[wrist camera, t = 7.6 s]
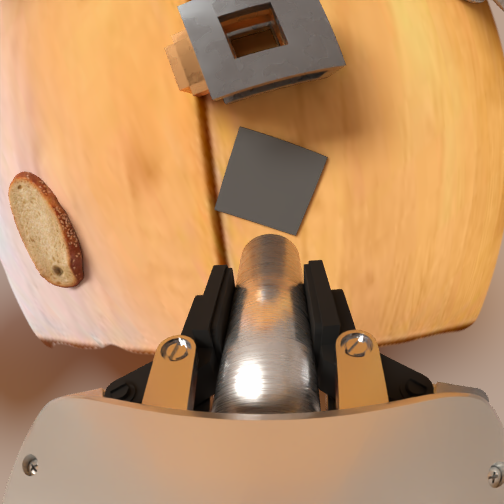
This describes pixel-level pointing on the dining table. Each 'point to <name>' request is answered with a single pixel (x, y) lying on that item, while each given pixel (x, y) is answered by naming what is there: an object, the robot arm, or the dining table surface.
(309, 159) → the mat
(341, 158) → the dining table surface
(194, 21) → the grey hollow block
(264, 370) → the pin
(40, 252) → the slice of bread
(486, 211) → the dining table surface
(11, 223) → the dining table surface
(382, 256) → the dining table surface
